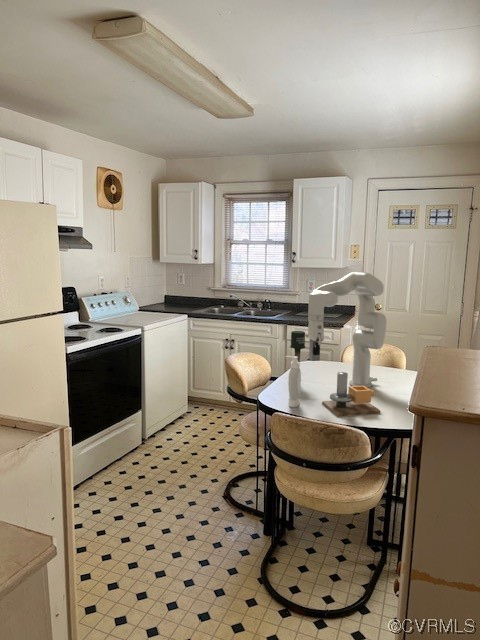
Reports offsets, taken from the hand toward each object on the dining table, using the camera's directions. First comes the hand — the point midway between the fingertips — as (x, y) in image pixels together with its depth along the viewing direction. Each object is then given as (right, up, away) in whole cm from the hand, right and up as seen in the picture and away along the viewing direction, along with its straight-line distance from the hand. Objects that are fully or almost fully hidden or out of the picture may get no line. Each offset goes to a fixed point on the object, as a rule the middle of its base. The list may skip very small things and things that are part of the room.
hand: (314, 353), depth 237 cm
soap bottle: (-12, -25, -1) cm, 28 cm away
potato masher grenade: (-5, -20, +35) cm, 41 cm away
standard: (+12, -25, -8) cm, 29 cm away
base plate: (+16, -26, -6) cm, 32 cm away
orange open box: (+23, -22, -6) cm, 32 cm away
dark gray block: (0, -3, +1) cm, 3 cm away
